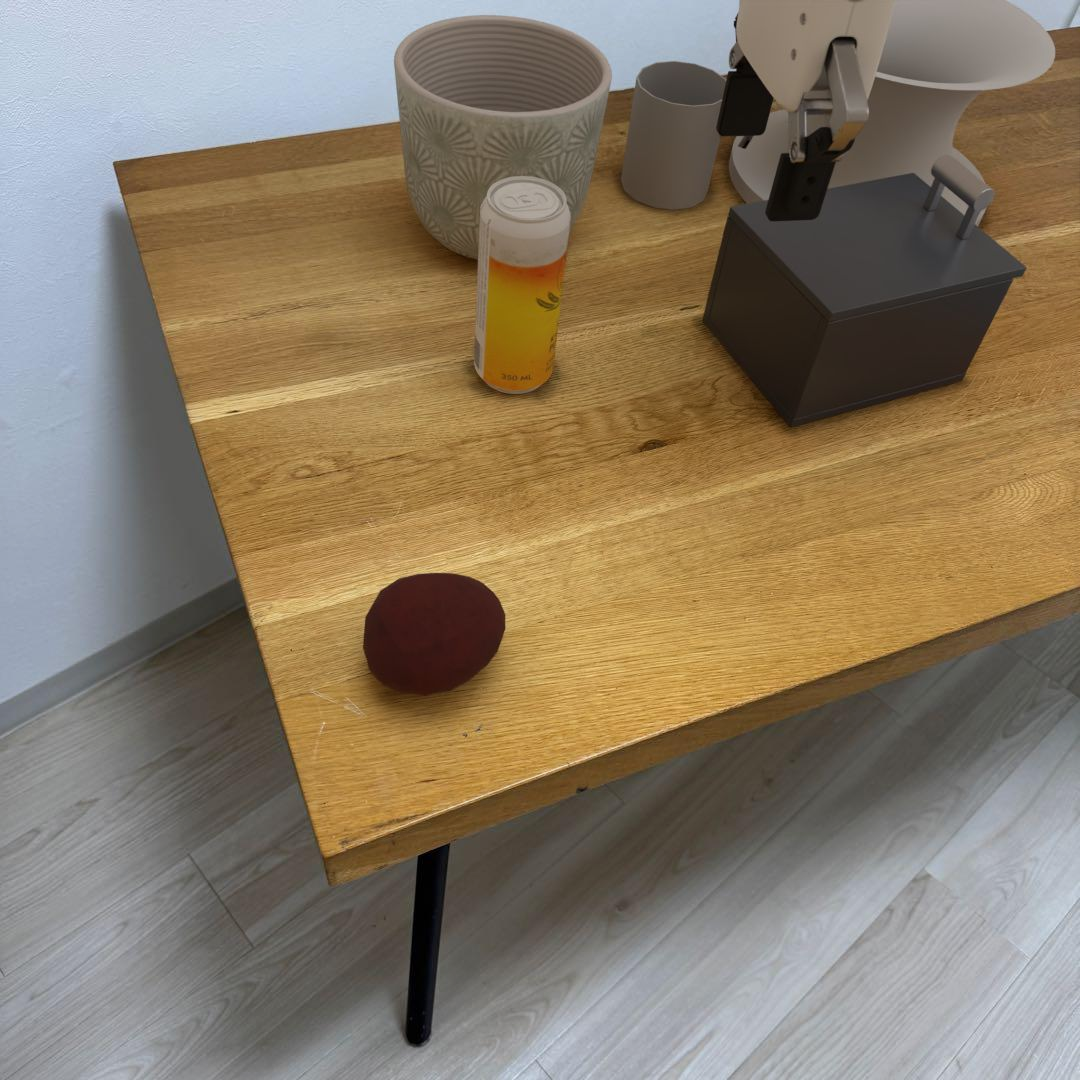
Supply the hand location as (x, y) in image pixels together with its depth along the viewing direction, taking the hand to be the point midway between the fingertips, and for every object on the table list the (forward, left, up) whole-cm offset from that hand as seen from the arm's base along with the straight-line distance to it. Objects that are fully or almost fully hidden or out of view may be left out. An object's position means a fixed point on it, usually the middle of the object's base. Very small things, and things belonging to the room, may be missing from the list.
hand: (763, 173), depth 63 cm
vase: (-2, -39, -20) cm, 44 cm away
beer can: (+14, +4, -20) cm, 25 cm away
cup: (+14, -28, -20) cm, 37 cm away
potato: (+6, +30, -20) cm, 36 cm away
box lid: (-7, -13, -10) cm, 17 cm away
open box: (-7, -12, -20) cm, 24 cm away
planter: (+24, -12, -20) cm, 33 cm away
